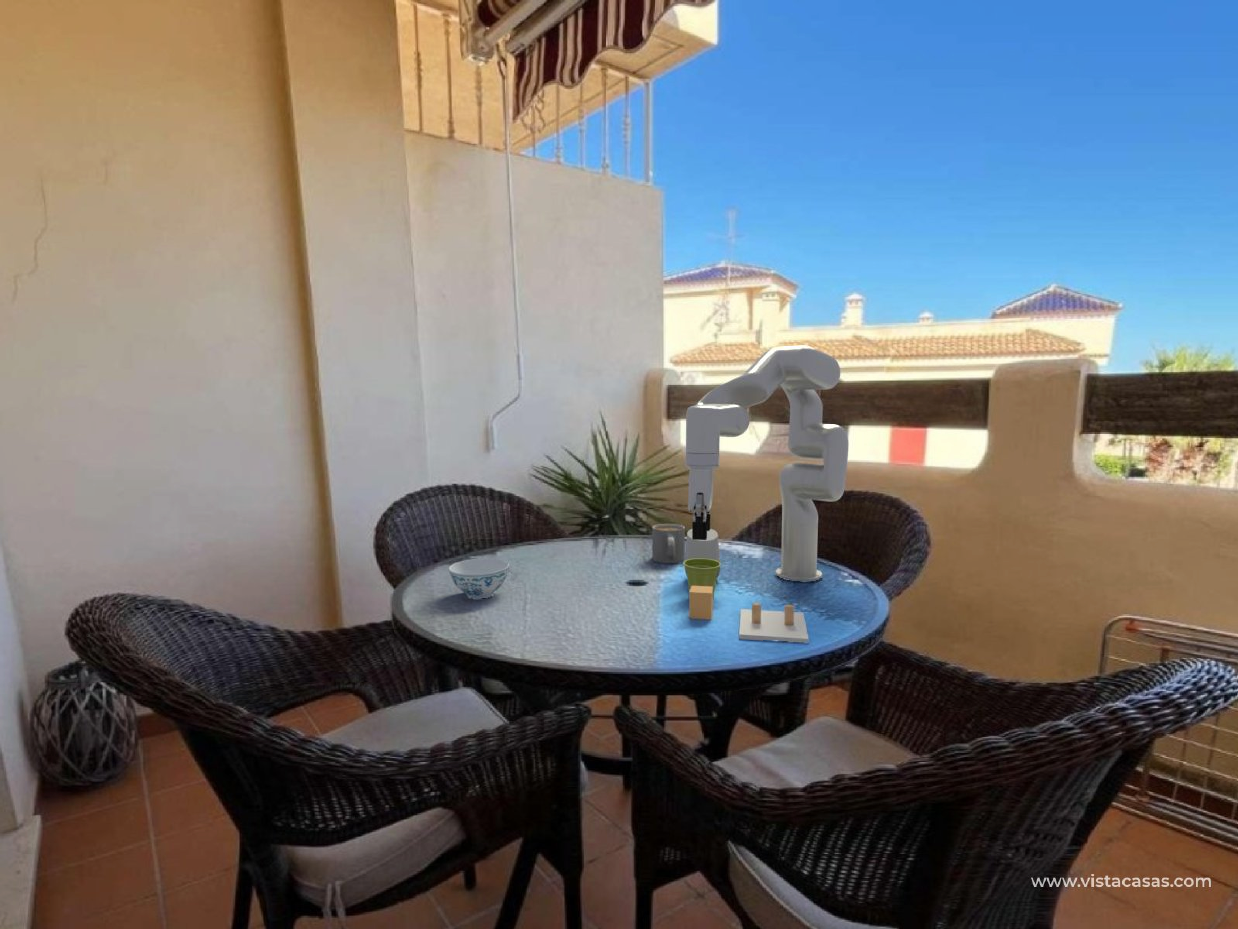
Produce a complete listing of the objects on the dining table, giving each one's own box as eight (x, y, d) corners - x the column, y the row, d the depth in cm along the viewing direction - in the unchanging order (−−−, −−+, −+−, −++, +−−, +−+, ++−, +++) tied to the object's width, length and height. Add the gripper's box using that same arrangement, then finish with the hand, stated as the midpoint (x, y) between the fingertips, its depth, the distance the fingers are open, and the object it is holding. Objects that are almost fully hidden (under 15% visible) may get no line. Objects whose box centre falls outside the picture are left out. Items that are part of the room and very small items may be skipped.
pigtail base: (741, 613, 153) (741, 592, 152) (803, 616, 150) (803, 595, 149) (739, 638, 137) (739, 615, 137) (808, 643, 134) (808, 620, 134)
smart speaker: (687, 585, 175) (687, 534, 173) (682, 575, 184) (683, 526, 182) (722, 584, 175) (723, 533, 173) (716, 575, 184) (716, 526, 183)
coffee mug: (654, 554, 208) (654, 523, 207) (685, 555, 206) (685, 524, 205) (649, 565, 195) (648, 532, 194) (682, 566, 193) (682, 533, 192)
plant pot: (709, 588, 172) (709, 556, 171) (727, 599, 163) (727, 565, 162) (676, 593, 168) (676, 560, 167) (694, 604, 160) (694, 569, 159)
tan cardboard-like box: (691, 611, 155) (691, 585, 154) (712, 612, 154) (712, 586, 153) (689, 618, 150) (689, 592, 149) (711, 619, 149) (711, 593, 148)
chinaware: (478, 583, 179) (477, 555, 178) (521, 591, 171) (520, 563, 170) (437, 599, 166) (436, 569, 165) (482, 608, 158) (480, 577, 157)
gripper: (689, 456, 157) (688, 526, 159) (681, 464, 140) (680, 542, 142) (721, 457, 155) (720, 528, 157) (716, 464, 139) (715, 544, 140)
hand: (701, 534), depth 150 cm, fingers open, 9 cm apart
